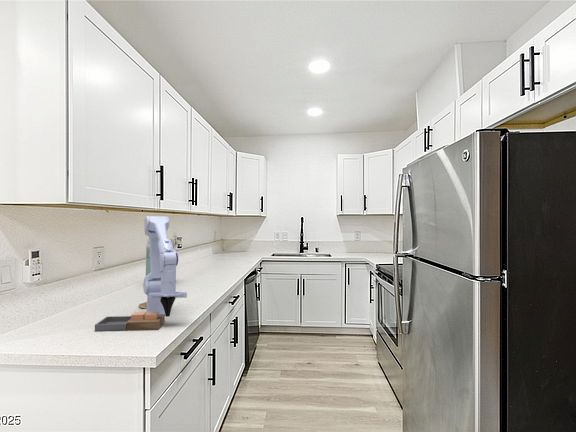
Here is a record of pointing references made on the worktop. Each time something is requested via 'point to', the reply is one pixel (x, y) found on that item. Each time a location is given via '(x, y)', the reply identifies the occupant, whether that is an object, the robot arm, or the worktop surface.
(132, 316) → the tile
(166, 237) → the robot arm
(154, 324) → the board
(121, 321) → the box
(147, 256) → the device
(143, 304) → the fish fossil
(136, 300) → the worktop surface
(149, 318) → the tile
